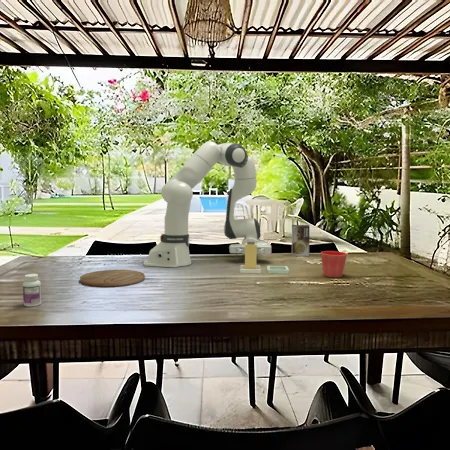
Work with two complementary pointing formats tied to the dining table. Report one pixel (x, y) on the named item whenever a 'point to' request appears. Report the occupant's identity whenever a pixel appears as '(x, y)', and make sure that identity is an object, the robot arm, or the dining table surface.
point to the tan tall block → (250, 255)
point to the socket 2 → (278, 269)
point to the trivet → (112, 278)
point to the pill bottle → (32, 290)
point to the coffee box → (300, 240)
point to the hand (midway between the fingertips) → (250, 251)
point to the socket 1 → (243, 270)
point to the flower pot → (333, 263)
